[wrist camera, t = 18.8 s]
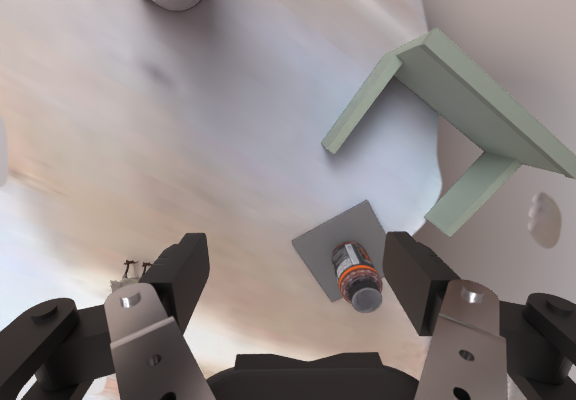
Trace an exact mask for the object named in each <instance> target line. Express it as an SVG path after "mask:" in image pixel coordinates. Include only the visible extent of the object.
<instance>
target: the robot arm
mask: <svg viewBox="0 0 576 400" xmlns="http://www.w3.org/2000/svg"><path fill="white" fill-rule="evenodd" d="M152 1H154V2H155V3H156V4H157V5H159V6H161V7H163V8H165V9H168V10H172V11H182V10H186V9H189V8H191V7H193V6H195V5H196V4H197V3H198V2H199V1H200V0H152ZM382 268H383V273H384V276H385V278H386V280H387V282H388V283H389V285H390V287H391V288H392V290H393V292H394V294H395V295H396V297H397V299H398V300H399V302H400V304H401V306H402V307H403V309H404V311H405V312H406V314H407V316H408V318H409V319H410V321H411V323H412V324H413V326H414V328H415V329H416V331H417V333H418V335H419V336H432V339H431V343H430V346H429V350H428V353H427V357H426V360H425V364H424V367H423V371H422V374H421V378H420V381H418V380H417V379H415V378H414V377H412V376H410V375H408V374H406V373H405V372H402V371H400V370H398V369H395V368H392V367H389V366H385V365H383V364H382V361H381V359H380V356H379V354H378V352H365V353H341V354H337V355H333V356H330V357H326V358H322V359H318V360H314V361H308V362H307V361H302V360H297V359H293V358H288V357H284V356H279V355H275V354H237V356H236V362H235V367H232V368H229V369H226V370H224V371H221V372H219V373H217V374H215V375H213V376H211V377H210V378H208V379H206V380H205V378H204V376H203V374H202V372H201V370H200V368H199V366H198V364H197V362H196V360H195V358H194V356H193V354H192V352H191V350H190V348H189V346H188V345H187V343H186V341H185V339H184V337H183V334H184V332H185V330H186V327H187V325H188V323H189V321H190V318H191V316H192V314H193V311H194V309H195V307H196V305H197V302H198V300H199V298H200V295H201V293H202V291H203V288H204V286H205V284H206V282H207V279H208V276H209V270H210V264H209V255H208V247H207V238H206V235H205V233H186V234H185V236H184V237H183V238H182V240H181V241H180V242H179V244H173V245H172V246H170V247H169V248H167V249H165V250H164V251H163V252H162V253H161V255H160V256H159V257H158V259H157V260H156V261H155V262H154V263H153V265H152V266H151V267H150V268H149V269H148V271H147V272H146V273H145V274H144V275H143V277H142V278H141V279H140V280H139V281H138V283H135V284H130V285H127V286H124V287H122V288H120V289H118V290H116V291H115V292H113V293H112V294H111V295H109V296H108V298H107V299H106V301H105V303H104V304H103V305H99V306H94V307H90V308H85V309H80V310H77V308H76V305H75V302H74V300H72V299H70V298H57V299H52V300H48V301H45V302H42V303H40V304H38V305H35V306H33V307H31V308H30V309H28V310H26V311H25V312H23V313H22V314H21V315H20V316H18V317H17V318H16V319H15V320H14V321H13V322H11V323H10V324H9V325H8V326H7V327H6V328H4V329H3V330H2V331H1V332H0V400H16V398H17V396H18V394H19V392H20V390H21V389H22V388H23V386H24V385H25V384H26V383H27V382H28V381H29V380H30V378H31V377H32V376H33V375H34V374H35V376H36V378H37V381H36V382H35V383H34V384H33V386H32V387H31V388H30V389H29V390H28V392H27V393H26V394H25V395H24V396H23V398H22V399H21V400H82V398H83V397H84V395H85V394H86V392H87V390H88V389H89V387H90V386H91V384H92V382H93V381H94V379H97V378H100V377H104V376H107V375H111V374H114V373H116V378H117V383H118V389H119V394H120V399H121V400H508V391H507V373H508V375H509V376H510V377H511V379H512V380H513V381H514V383H515V384H516V385H517V387H518V388H519V389H520V390H521V392H522V393H523V394H524V396H525V397H526V398H527V400H576V384H575V383H574V381H572V380H571V378H570V377H569V376H568V373H569V371H570V369H571V366H572V364H574V365H575V366H576V304H574V303H572V302H570V301H568V300H565V299H563V298H560V297H557V296H554V295H550V294H545V293H533V294H530V295H529V296H528V299H527V302H526V305H520V304H515V303H509V302H505V301H500V300H499V298H498V296H497V295H496V294H495V293H494V292H493V291H492V290H490V289H489V288H487V287H485V286H483V285H481V284H479V283H477V282H473V281H470V280H464V279H461V278H460V277H459V276H458V275H457V274H456V273H455V272H454V271H453V270H452V269H451V268H449V266H447V264H445V263H443V261H442V260H441V259H440V258H439V257H437V255H436V254H435V253H434V252H433V251H432V250H431V249H430V248H429V247H427V246H425V245H423V244H421V243H420V242H416V241H415V240H414V239H413V238H412V237H411V236H410V235H409V234H408V233H407V232H405V231H402V232H388V233H387V235H386V240H385V247H384V255H383V262H382Z"/></svg>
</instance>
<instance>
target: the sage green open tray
mask: <svg viewBox="0 0 576 400" xmlns="http://www.w3.org/2000/svg"><path fill="white" fill-rule="evenodd" d="M392 76H395V77H396V78H397V79H398V80H399V81H401V82H402V83H403V84H404V85H405V86H407V87H408V88H409V89H410V90H411V91H413V92H414V93H415V94H416V95H417V96H419V97H420V98H421V99H422V100H423V101H425V102H426V103H427V104H428V105H429V106H431V107H432V108H433V109H434V110H435V111H437V112H438V113H439V114H440V115H441V116H443V117H444V118H445V119H446V120H447V121H449V122H450V123H451V124H452V125H453V126H455V127H456V128H457V129H458V130H459V131H460V132H462V133H463V134H464V135H465V136H467V137H468V138H469V139H470V140H471V141H473V142H474V143H475V144H476V145H477V146H479V147H480V148H481V149H482V150H483V151H484V153H483V154H482V155H481V156H480V157H479V158H478V159H477V160H476V161H475V162H474V163H473V165H472V166H471V167H470V168H469V169H468V170H467V171H466V172H465V173H464V174H463V175H462V176H461V177H460V179H459V180H458V181H457V182H456V183H455V184H454V185H453V186H452V187H451V188H450V189H449V191H448V192H447V193H446V194H445V195H444V196H443V197H442V198H441V199H440V200H439V201H438V202H437V203H436V205H435V206H434V207H433V208H432V209H431V210H430V211H429V212H428V213H427V214H426V215H425V216H424V217H425V218H426V219H427V220H429V221H430V222H431V223H432V224H434V225H435V226H436V227H437V228H439V229H440V230H441V231H442V232H443V233H445V234H446V235H448V236H449V237H451V236H452V235H453V234H454V233H455V232H456V231H457V230H458V229H459V228H460V227H461V226H462V225H463V224H464V223H465V222H466V221H467V220H468V219H469V218H470V217H471V216H472V215H473V214H474V213H475V212H476V211H477V210H478V209H479V208H480V207H481V206H482V205H483V204H484V203H485V202H486V201H487V200H488V199H489V198H490V197H491V196H492V195H493V194H494V193H495V192H496V191H497V189H499V187H501V185H503V183H505V182H506V180H507V179H508V178H509V177H510V176H511V175H512V174H513V173H514V172H515V171H516V170H517V169H518V168H519V167H520V166H521V165H522V164H524V165H528V166H532V167H536V168H540V169H544V170H548V171H552V172H556V173H560V174H564V175H565V176H566V177H569V178H573V179H576V155H575V154H574V153H573V152H572V151H570V150H569V149H568V148H567V147H566V146H565V145H564V144H563V143H562V142H561V141H560V140H559V139H557V138H556V137H555V136H554V135H553V134H552V133H551V132H550V131H549V130H548V129H547V128H546V127H544V126H543V125H542V124H541V123H540V122H539V121H538V120H537V119H536V118H535V117H534V116H532V115H531V114H530V113H529V112H528V111H527V110H526V109H525V108H524V107H523V106H522V105H520V104H519V103H518V102H517V101H516V100H515V99H514V98H513V97H512V96H511V95H510V94H509V93H507V92H506V91H505V90H504V89H503V88H502V87H501V86H500V85H499V84H498V83H497V82H496V81H494V80H493V79H492V78H491V77H490V76H489V75H488V74H487V73H486V72H485V71H484V70H483V69H482V68H480V67H479V66H478V65H477V64H476V63H475V62H474V61H473V60H472V59H471V58H470V57H468V56H467V55H466V54H465V53H464V52H463V51H462V50H461V49H460V48H458V46H457V45H455V44H454V43H453V42H452V41H451V40H450V39H449V38H448V37H447V36H446V35H445V34H444V33H442V32H441V31H440V30H439V29H438V28H437V27H436V28H434V29H432V30H431V31H430V32H429V33H427V34H425V35H423V36H421V37H419V38H417V39H415V40H413V41H411V42H409V43H407V44H405V45H403V46H401V47H399V48H397V49H395V50H393V51H391V52H389V53H387V54H385V55H384V56H383V57H382V59H381V60H380V62H379V63H378V64H377V66H376V67H375V68H374V70H373V71H372V73H371V74H370V75H369V77H368V78H367V80H366V81H365V82H364V84H363V85H362V87H361V88H360V89H359V91H358V92H357V94H356V95H355V96H354V98H353V99H352V100H351V102H350V103H349V105H348V106H347V107H346V109H345V110H344V112H343V113H342V114H341V116H340V117H339V119H338V120H337V121H336V123H335V124H334V126H333V127H332V128H331V130H330V131H329V133H328V134H327V135H326V137H325V138H324V139H323V141H322V142H321V143H322V144H323V145H324V147H325V148H326V149H327V150H329V151H330V152H332V153H333V154H335V153H336V152H337V150H338V149H339V148H340V146H341V145H342V144H343V142H344V141H345V140H346V138H347V137H348V135H349V134H350V133H351V131H352V130H353V129H354V127H355V126H356V125H357V123H358V122H359V121H360V119H361V118H362V117H363V115H364V114H365V113H366V111H367V110H368V109H369V107H370V106H371V105H372V103H373V102H374V101H375V99H376V98H377V97H378V95H379V94H380V93H381V91H382V90H383V89H384V87H385V86H386V84H387V83H388V82H389V80H390V79H391V78H392Z"/></svg>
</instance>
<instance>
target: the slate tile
mask: <svg viewBox="0 0 576 400" xmlns="http://www.w3.org/2000/svg"><path fill="white" fill-rule="evenodd" d="M385 240H386V234H385V232H384V230H383V228H382V226H381V225H380V223H379V221H378V219H377V217H376V215H375V214H374V212H373V210H372V208H371V206H370V204H369V203H368V201H367V200H365V201H363V202H362V203H360V204H358V205H356V206H354V207H353V208H351V209H349V210H347V211H345V212H343V213H342V214H340V215H338V216H336V217H334V218H332V219H331V220H329V221H327V222H325V223H323V224H322V225H320V226H318V227H316V228H314V229H312V230H311V231H309V232H307V233H305V234H303V235H302V236H300V237H298V238H296V239H294V240H292V245H293V246H294V248H295V249H296V251H297V252H298V253H299V255H300V256H301V258H302V259H303V261H304V262H305V264H306V265H307V267H308V268H309V270H310V271H311V272H312V274H313V275H314V277H315V278H316V280H317V281H318V283H319V284H320V286H321V287H322V289H323V290H324V291H325V293H326V294H327V296H328V297H329V299H330V300H331V302H334V301H336V300H338V299H340V298H342V297H343V296H342V294H341V292H340V289H339V285H338V282H337V279H336V275H335V272H334V268H333V265H332V260H331V257H332V253H333V251H334V249H335V248H336V247H337V246H338V245H340V244H341V243H344V242H356V243H358V244H360V245H361V246H362V247H363V248H364V249H365V250H366V252H367V254H368V256H369V258H370V259H371V261H372V263H373V265H374V267H375V268H376V270H377V272H378V274H379V276H380V278H383V277H385V276H384V273H383V268H382V262H383V255H384V247H385Z"/></svg>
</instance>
